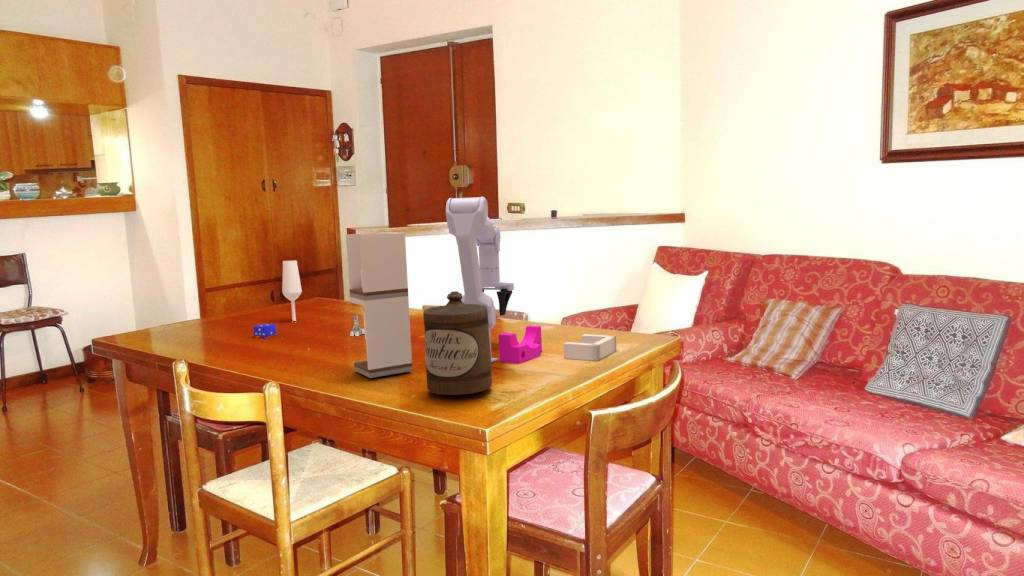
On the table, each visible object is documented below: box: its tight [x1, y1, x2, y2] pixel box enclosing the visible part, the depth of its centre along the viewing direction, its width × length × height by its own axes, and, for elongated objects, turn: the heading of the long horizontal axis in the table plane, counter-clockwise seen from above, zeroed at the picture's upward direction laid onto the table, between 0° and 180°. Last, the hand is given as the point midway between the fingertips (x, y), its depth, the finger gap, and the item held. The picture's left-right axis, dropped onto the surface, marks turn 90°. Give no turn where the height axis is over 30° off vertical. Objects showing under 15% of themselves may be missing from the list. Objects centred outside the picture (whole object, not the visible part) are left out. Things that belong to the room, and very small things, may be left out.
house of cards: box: [349, 315, 365, 337], centre depth 226 cm, size 9×9×8 cm
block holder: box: [563, 333, 617, 362], centre depth 190 cm, size 14×10×4 cm
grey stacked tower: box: [345, 231, 413, 379], centre depth 178 cm, size 11×11×35 cm
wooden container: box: [422, 290, 493, 396], centre depth 160 cm, size 15×15×22 cm
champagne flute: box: [281, 259, 303, 322], centre depth 251 cm, size 7×7×24 cm
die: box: [252, 323, 277, 337], centre depth 229 cm, size 5×5×5 cm
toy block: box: [498, 324, 543, 365], centre depth 189 cm, size 15×6×8 cm, turn 145°
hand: (491, 314), depth 205 cm, fingers open, 7 cm apart
